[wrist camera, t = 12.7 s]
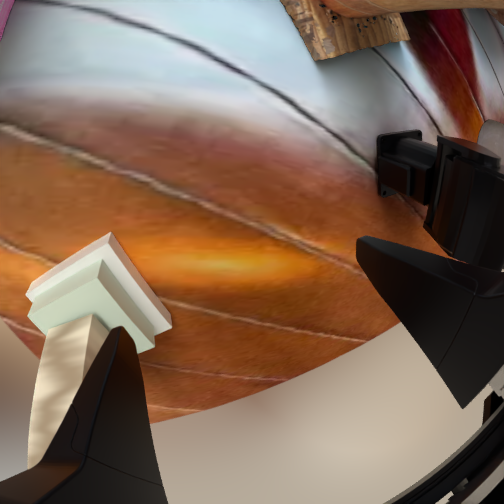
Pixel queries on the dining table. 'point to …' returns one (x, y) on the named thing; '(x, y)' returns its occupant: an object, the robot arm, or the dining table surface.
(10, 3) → the gum box
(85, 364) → the ash pillar
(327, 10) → the bird sculpture
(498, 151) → the pillar candle
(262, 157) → the dining table surface
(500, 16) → the jug
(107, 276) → the sage top slab
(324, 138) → the dining table surface
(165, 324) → the grey base slab
